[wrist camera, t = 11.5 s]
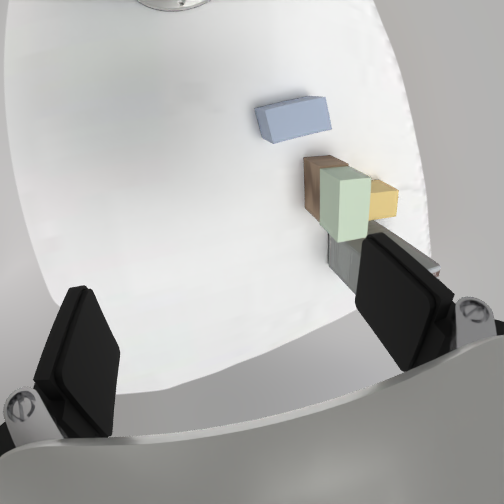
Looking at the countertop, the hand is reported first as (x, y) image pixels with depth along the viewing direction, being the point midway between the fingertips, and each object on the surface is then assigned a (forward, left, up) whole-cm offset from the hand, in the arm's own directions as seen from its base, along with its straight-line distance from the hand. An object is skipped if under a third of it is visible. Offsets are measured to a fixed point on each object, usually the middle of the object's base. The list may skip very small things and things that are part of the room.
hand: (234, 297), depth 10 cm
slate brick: (-3, +11, -28) cm, 31 cm away
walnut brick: (+6, +15, -28) cm, 33 cm away
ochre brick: (+8, +22, -28) cm, 37 cm away
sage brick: (+6, +15, -23) cm, 28 cm away
